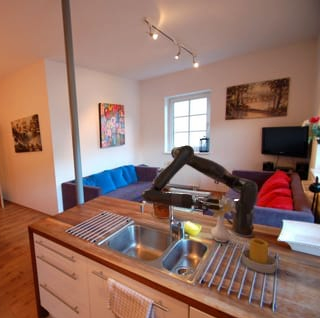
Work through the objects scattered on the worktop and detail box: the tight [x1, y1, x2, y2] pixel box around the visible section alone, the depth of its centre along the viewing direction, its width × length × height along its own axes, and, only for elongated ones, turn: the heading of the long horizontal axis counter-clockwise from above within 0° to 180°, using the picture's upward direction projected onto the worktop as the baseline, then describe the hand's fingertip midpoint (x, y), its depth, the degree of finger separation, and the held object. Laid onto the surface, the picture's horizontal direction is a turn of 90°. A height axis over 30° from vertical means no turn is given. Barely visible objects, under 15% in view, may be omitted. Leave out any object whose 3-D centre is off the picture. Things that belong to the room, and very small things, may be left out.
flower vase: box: [208, 194, 236, 243], centre depth 113 cm, size 13×18×25 cm
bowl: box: [241, 248, 278, 274], centre depth 93 cm, size 12×12×4 cm
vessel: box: [152, 187, 172, 219], centre depth 151 cm, size 14×14×20 cm
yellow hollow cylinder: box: [249, 237, 269, 265], centre depth 92 cm, size 6×6×11 cm
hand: (219, 204), depth 96 cm, fingers open, 8 cm apart
